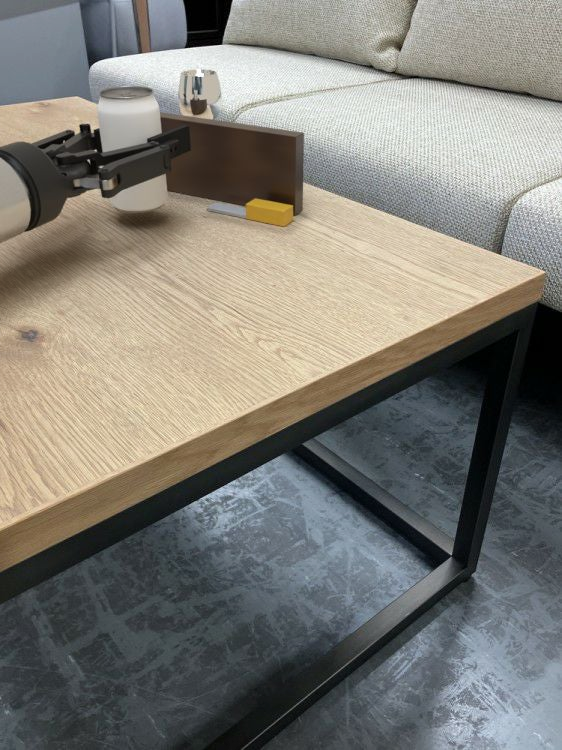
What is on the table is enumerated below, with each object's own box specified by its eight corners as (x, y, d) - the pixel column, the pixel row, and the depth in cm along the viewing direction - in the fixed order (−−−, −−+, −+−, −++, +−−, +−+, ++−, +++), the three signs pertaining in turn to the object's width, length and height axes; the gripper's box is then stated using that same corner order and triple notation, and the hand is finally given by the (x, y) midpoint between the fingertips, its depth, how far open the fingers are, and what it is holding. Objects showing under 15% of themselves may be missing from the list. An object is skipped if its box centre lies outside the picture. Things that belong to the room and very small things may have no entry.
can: (153, 190, 83) (142, 82, 76) (177, 206, 78) (168, 93, 72) (101, 200, 80) (85, 89, 73) (123, 218, 75) (108, 101, 69)
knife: (206, 210, 83) (205, 196, 82) (216, 205, 84) (215, 190, 83) (284, 226, 78) (284, 211, 77) (293, 220, 80) (293, 205, 79)
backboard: (143, 185, 90) (135, 113, 85) (153, 181, 92) (145, 109, 87) (295, 215, 81) (296, 136, 76) (302, 210, 83) (304, 132, 78)
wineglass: (233, 165, 97) (230, 72, 91) (201, 174, 94) (195, 79, 87) (206, 156, 101) (201, 66, 94) (175, 165, 97) (167, 72, 91)
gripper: (-59, 214, 68) (99, 154, 85) (94, 254, 61) (235, 179, 77) (-81, 136, 64) (90, 89, 81) (80, 167, 56) (232, 108, 73)
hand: (160, 133), depth 79 cm, fingers closed on can, 6 cm apart
